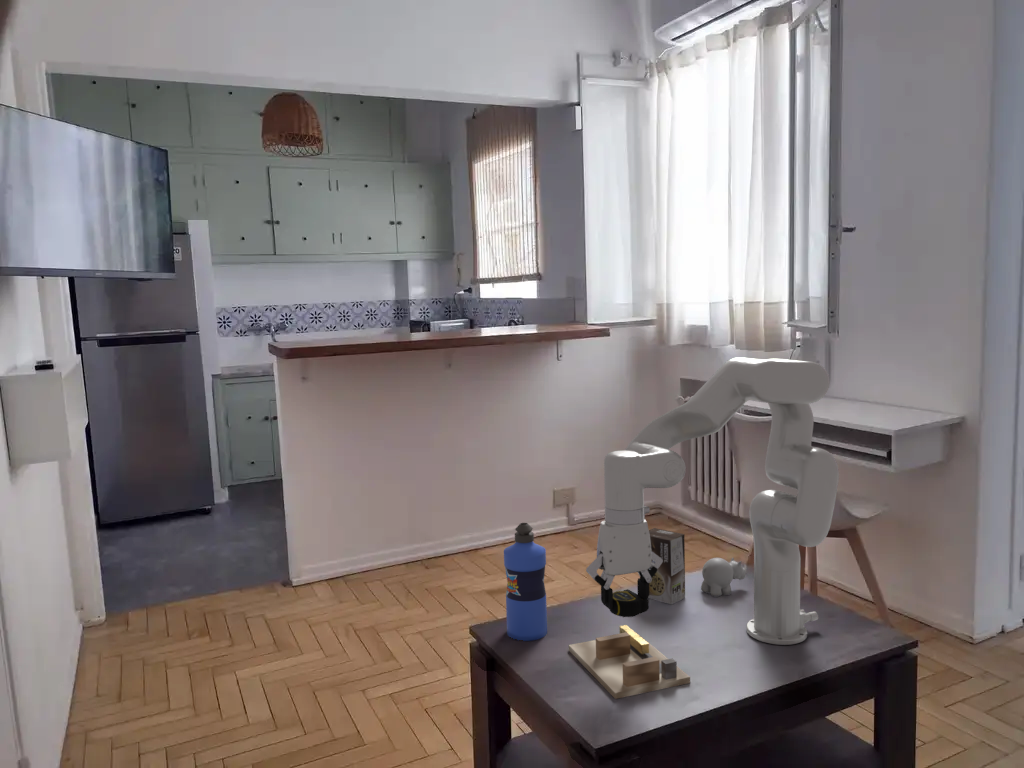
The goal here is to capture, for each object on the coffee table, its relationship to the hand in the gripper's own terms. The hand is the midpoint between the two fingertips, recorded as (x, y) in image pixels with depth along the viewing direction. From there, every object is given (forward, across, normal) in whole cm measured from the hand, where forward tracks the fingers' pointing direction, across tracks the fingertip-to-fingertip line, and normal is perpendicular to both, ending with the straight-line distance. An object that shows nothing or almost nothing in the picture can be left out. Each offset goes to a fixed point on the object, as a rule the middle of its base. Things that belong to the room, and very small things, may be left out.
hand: (625, 602), depth 157 cm
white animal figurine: (+15, -43, -29) cm, 54 cm away
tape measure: (+2, -1, 0) cm, 2 cm away
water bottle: (+15, +11, -26) cm, 32 cm away
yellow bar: (+13, -6, -8) cm, 16 cm away
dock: (+15, -2, -3) cm, 15 cm away
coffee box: (+15, -27, -32) cm, 44 cm away
